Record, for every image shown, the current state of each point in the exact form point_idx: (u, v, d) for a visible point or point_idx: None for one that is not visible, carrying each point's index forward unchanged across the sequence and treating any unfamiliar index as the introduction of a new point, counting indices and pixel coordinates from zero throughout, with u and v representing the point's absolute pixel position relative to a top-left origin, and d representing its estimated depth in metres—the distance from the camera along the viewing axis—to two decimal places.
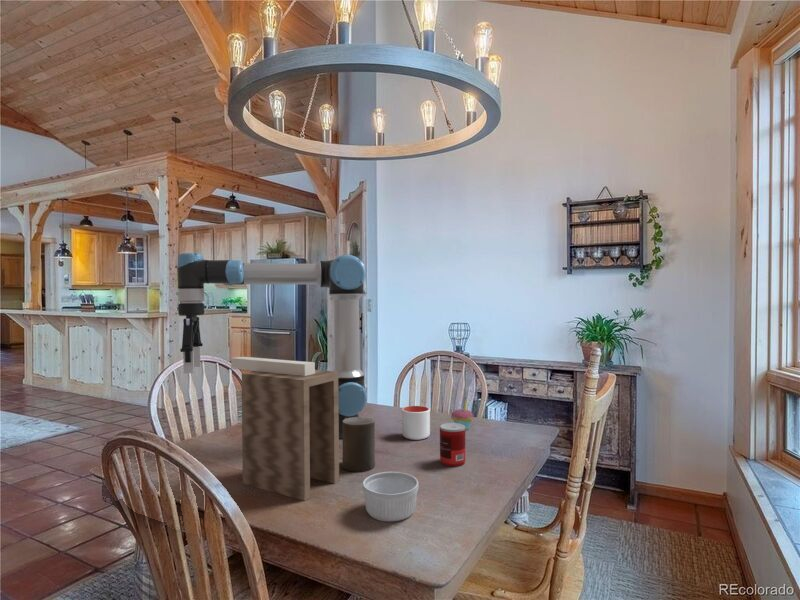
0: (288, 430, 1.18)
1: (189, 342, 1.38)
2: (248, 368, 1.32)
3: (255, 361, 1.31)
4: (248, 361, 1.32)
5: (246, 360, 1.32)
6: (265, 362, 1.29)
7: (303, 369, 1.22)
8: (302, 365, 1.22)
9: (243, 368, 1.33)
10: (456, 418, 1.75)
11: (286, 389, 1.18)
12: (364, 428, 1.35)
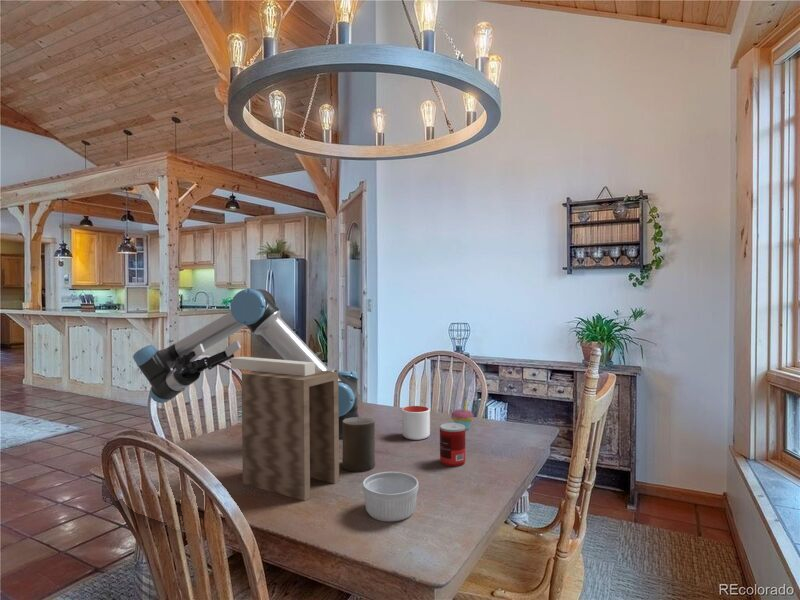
0: (288, 430, 1.18)
1: (176, 360, 1.41)
2: (248, 368, 1.32)
3: (255, 361, 1.31)
4: (248, 361, 1.32)
5: (246, 360, 1.32)
6: (265, 362, 1.29)
7: (303, 369, 1.22)
8: (302, 365, 1.22)
9: (243, 368, 1.33)
10: (456, 418, 1.75)
11: (286, 389, 1.18)
12: (364, 428, 1.35)
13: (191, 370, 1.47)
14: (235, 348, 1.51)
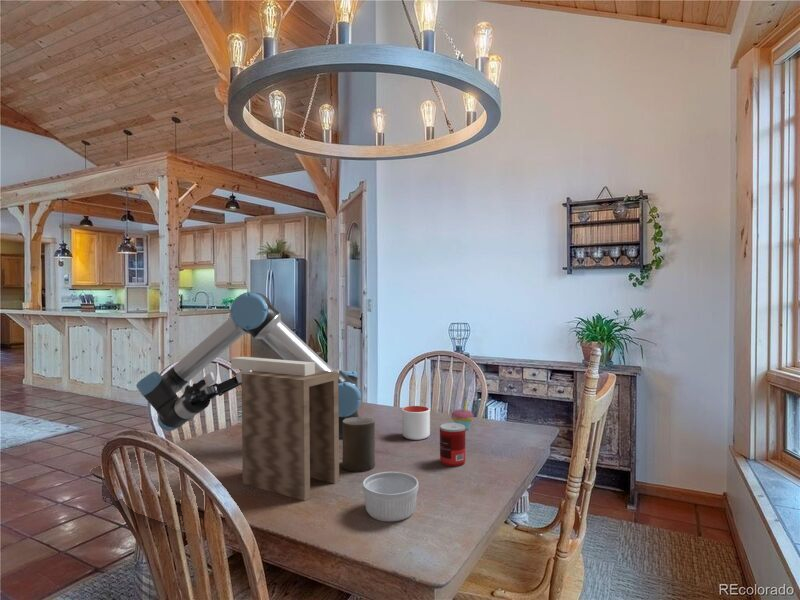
0: (288, 430, 1.18)
1: (185, 389, 1.34)
2: (248, 368, 1.32)
3: (255, 361, 1.31)
4: (248, 361, 1.32)
5: (246, 360, 1.32)
6: (265, 362, 1.29)
7: (303, 369, 1.22)
8: (302, 365, 1.22)
9: (243, 368, 1.33)
10: (456, 418, 1.75)
11: (286, 389, 1.18)
12: (364, 428, 1.35)
13: (201, 398, 1.40)
14: None
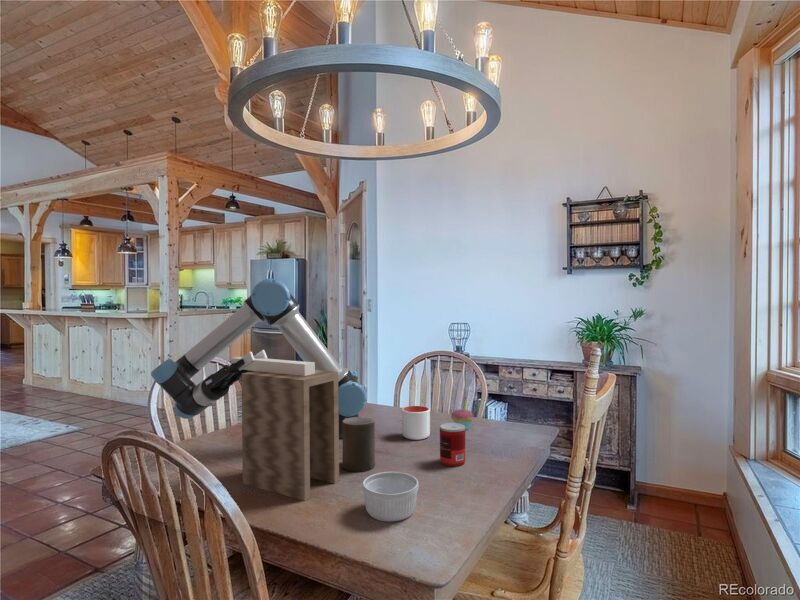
0: (288, 430, 1.18)
1: (222, 369, 1.32)
2: (248, 368, 1.32)
3: (255, 361, 1.31)
4: None
5: None
6: (265, 362, 1.29)
7: (303, 369, 1.22)
8: (302, 365, 1.22)
9: None
10: (456, 418, 1.75)
11: (286, 389, 1.18)
12: (364, 428, 1.35)
13: (225, 383, 1.37)
14: None
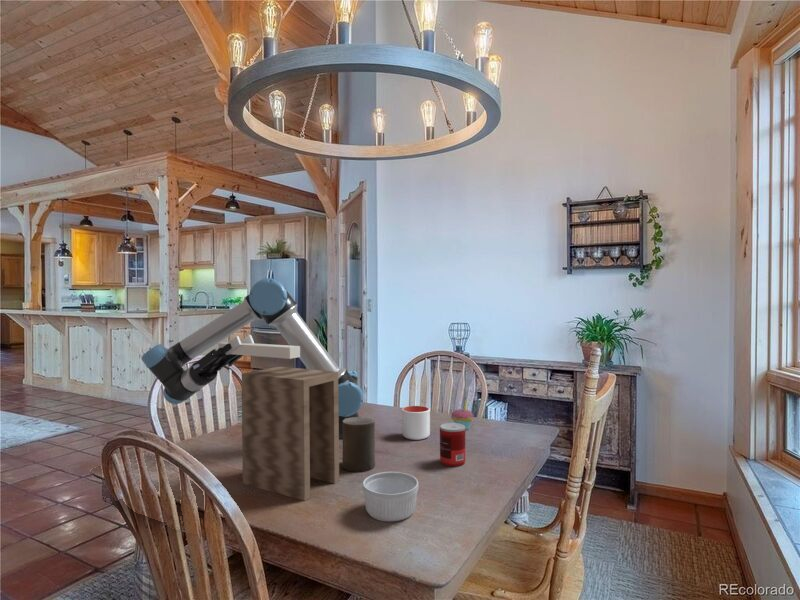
0: (288, 430, 1.18)
1: (209, 354, 1.34)
2: (235, 352, 1.34)
3: (242, 345, 1.33)
4: None
5: None
6: (251, 346, 1.31)
7: (288, 352, 1.24)
8: (287, 348, 1.25)
9: (230, 353, 1.35)
10: (456, 418, 1.75)
11: (286, 389, 1.18)
12: (364, 428, 1.35)
13: (213, 367, 1.39)
14: None
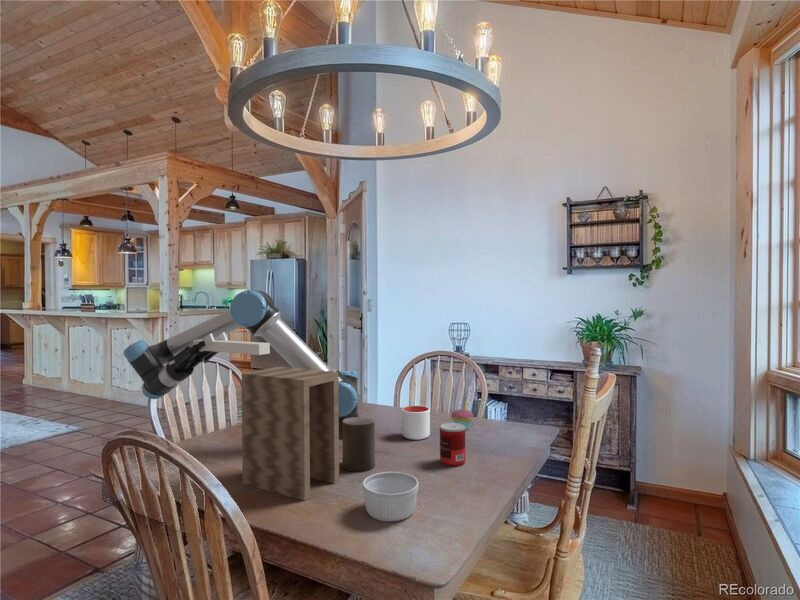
0: (288, 430, 1.18)
1: (184, 350, 1.40)
2: (209, 349, 1.40)
3: (215, 342, 1.38)
4: None
5: None
6: (224, 343, 1.36)
7: (258, 349, 1.30)
8: (257, 345, 1.30)
9: None
10: (456, 418, 1.75)
11: (286, 389, 1.18)
12: (364, 428, 1.35)
13: (188, 364, 1.45)
14: None
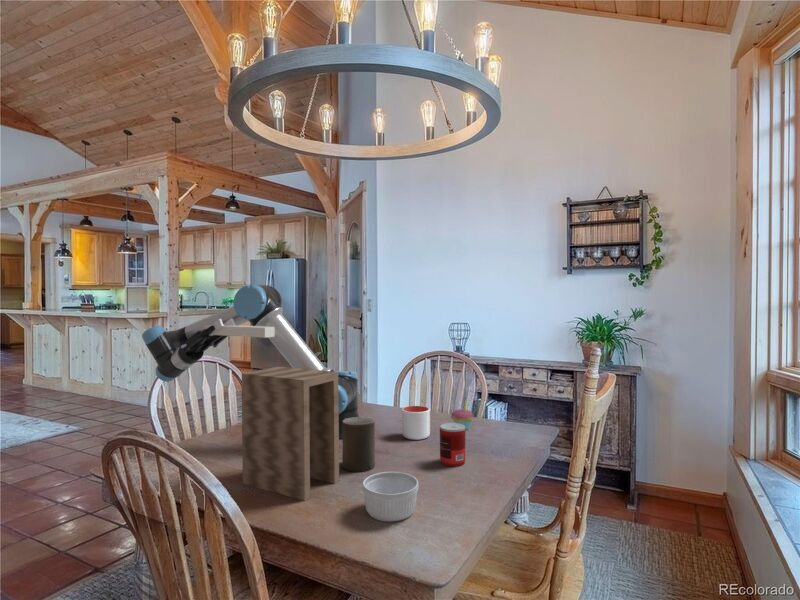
0: (288, 430, 1.18)
1: (195, 334, 1.51)
2: (218, 333, 1.51)
3: (224, 327, 1.49)
4: None
5: None
6: (232, 327, 1.47)
7: (263, 332, 1.41)
8: (262, 328, 1.41)
9: (214, 334, 1.52)
10: (456, 418, 1.75)
11: (286, 389, 1.18)
12: (364, 428, 1.35)
13: (199, 347, 1.56)
14: None
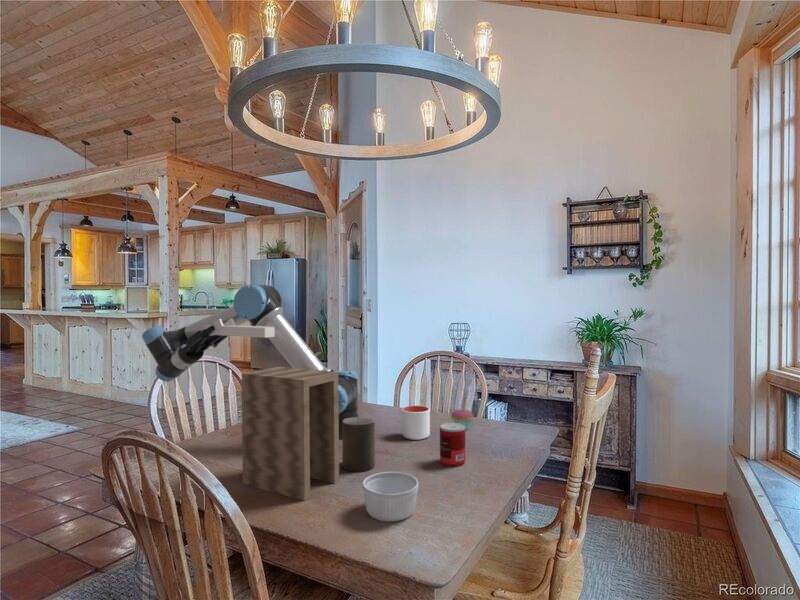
0: (288, 430, 1.18)
1: (195, 334, 1.51)
2: (218, 333, 1.51)
3: (224, 327, 1.49)
4: None
5: None
6: (232, 327, 1.47)
7: (263, 332, 1.41)
8: (262, 328, 1.41)
9: (214, 334, 1.52)
10: (456, 418, 1.75)
11: (286, 389, 1.18)
12: (364, 428, 1.35)
13: (199, 347, 1.56)
14: None
